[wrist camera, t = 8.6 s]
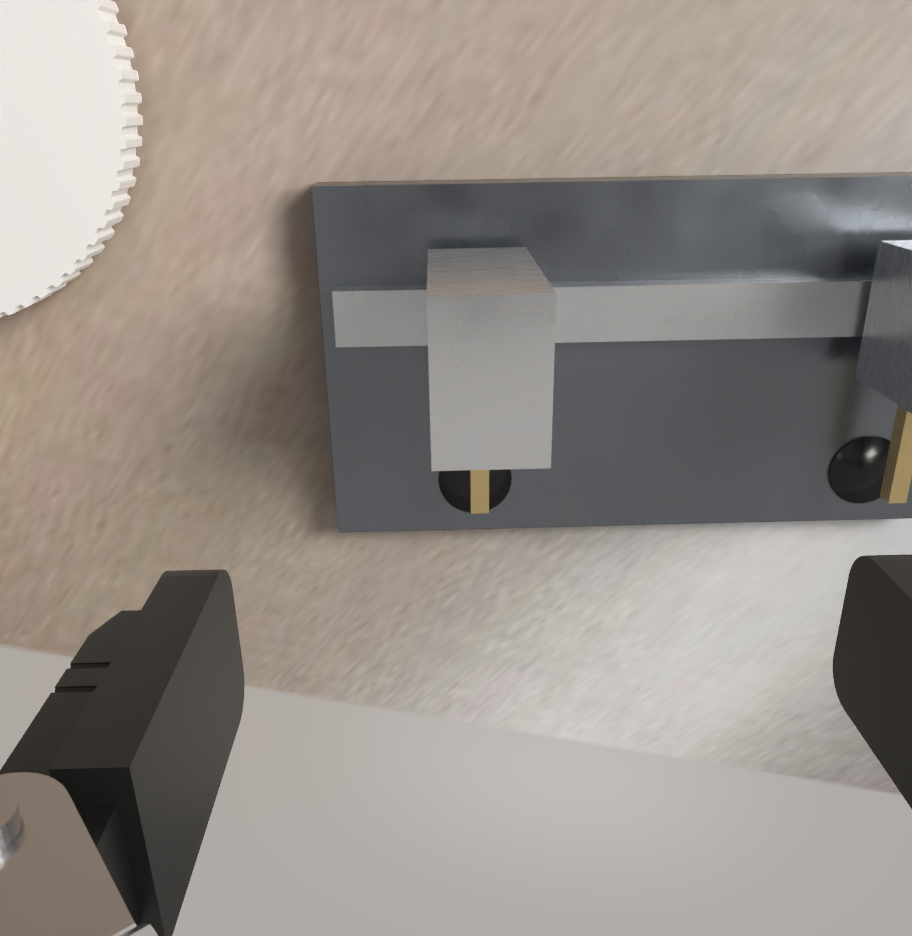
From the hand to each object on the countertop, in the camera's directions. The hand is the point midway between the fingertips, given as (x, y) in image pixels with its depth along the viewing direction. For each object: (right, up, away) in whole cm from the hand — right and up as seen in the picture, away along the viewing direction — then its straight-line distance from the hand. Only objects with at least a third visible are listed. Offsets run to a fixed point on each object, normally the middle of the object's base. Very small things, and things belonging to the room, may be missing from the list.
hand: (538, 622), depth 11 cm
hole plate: (+6, +6, +19) cm, 21 cm away
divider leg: (0, +5, +17) cm, 17 cm away
